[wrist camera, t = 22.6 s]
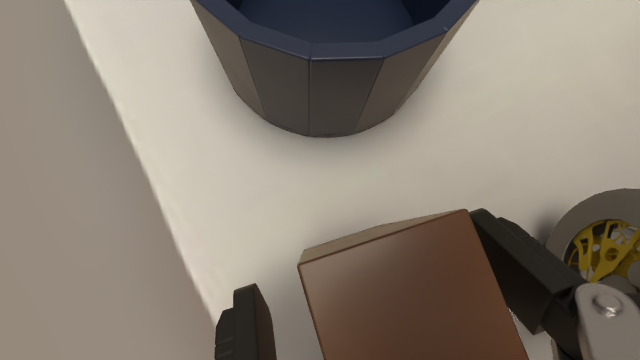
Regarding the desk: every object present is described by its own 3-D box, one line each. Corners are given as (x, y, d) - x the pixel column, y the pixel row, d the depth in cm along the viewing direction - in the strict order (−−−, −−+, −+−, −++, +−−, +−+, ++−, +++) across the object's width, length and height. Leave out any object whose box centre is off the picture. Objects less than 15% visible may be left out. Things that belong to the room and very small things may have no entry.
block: (380, 224, 16) (467, 207, 7) (408, 306, 15) (546, 398, 6) (303, 250, 16) (296, 264, 7) (328, 335, 15) (358, 476, 6)
